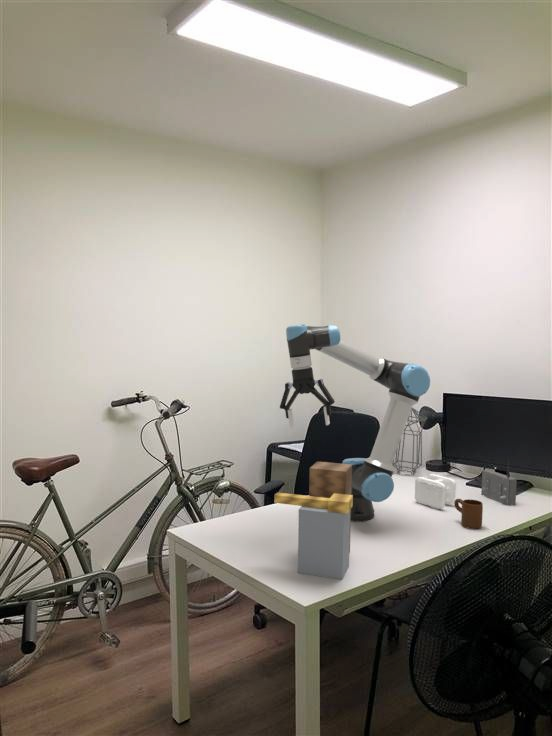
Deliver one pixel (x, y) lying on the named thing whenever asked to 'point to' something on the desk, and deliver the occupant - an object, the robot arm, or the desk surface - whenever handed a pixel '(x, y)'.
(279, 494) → the handle bar
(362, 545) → the desk surface
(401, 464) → the geometric lantern
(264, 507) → the desk surface
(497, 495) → the electronic device
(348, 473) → the walnut post
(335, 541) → the grey stand
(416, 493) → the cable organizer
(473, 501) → the mug
